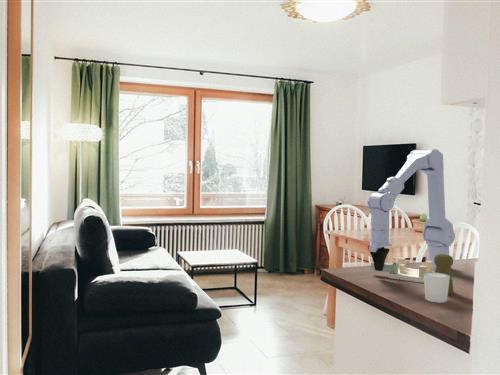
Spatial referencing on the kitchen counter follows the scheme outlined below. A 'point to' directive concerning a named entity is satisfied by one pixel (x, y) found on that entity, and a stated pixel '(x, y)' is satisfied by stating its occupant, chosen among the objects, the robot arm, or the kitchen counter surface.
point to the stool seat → (411, 271)
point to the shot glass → (436, 286)
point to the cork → (444, 268)
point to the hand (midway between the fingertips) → (378, 270)
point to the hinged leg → (387, 267)
